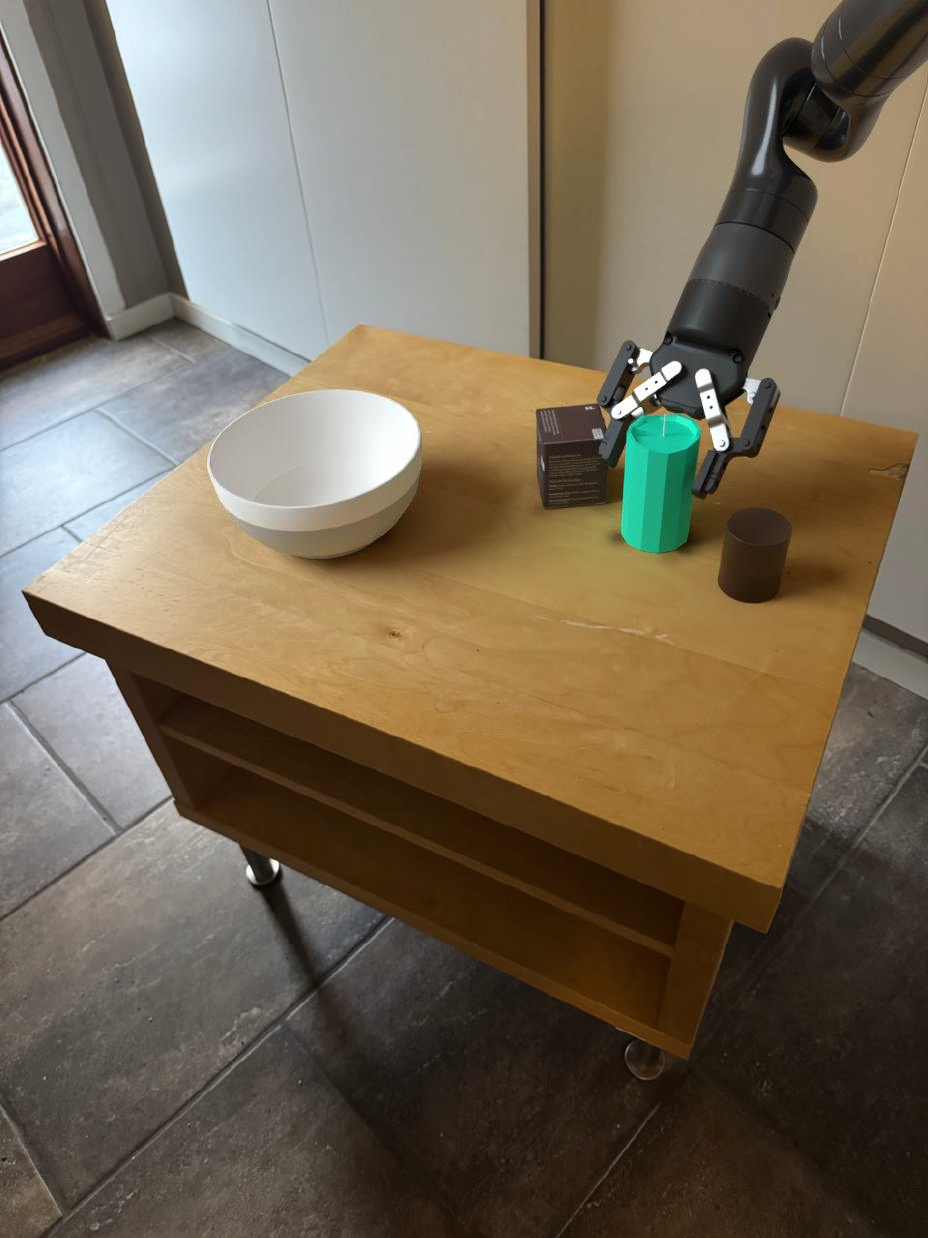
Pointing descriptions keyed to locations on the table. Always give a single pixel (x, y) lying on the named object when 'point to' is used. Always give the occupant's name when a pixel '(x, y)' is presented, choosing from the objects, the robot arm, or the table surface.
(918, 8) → the robot arm
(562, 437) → the box
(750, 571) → the walnut post
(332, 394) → the bowl
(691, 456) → the candle
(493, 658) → the table surface
